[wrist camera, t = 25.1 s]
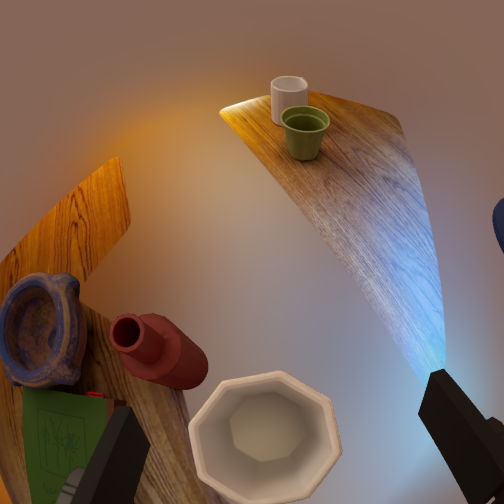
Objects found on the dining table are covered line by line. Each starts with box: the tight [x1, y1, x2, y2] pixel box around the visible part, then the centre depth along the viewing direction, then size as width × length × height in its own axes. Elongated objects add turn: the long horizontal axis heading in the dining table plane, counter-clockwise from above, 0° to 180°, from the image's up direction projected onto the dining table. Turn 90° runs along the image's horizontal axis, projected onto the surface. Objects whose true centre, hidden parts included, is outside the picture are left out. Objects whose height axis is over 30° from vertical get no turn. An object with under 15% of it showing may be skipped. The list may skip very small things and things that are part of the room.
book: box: [23, 386, 135, 504], centre depth 28 cm, size 25×19×4 cm
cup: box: [188, 371, 342, 504], centre depth 25 cm, size 11×11×18 cm
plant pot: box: [280, 106, 330, 161], centre depth 54 cm, size 9×9×9 cm
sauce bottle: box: [109, 313, 208, 390], centre depth 30 cm, size 7×7×18 cm
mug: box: [271, 76, 308, 127], centre depth 60 cm, size 8×12×10 cm
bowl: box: [0, 272, 87, 389], centre depth 35 cm, size 18×18×10 cm
